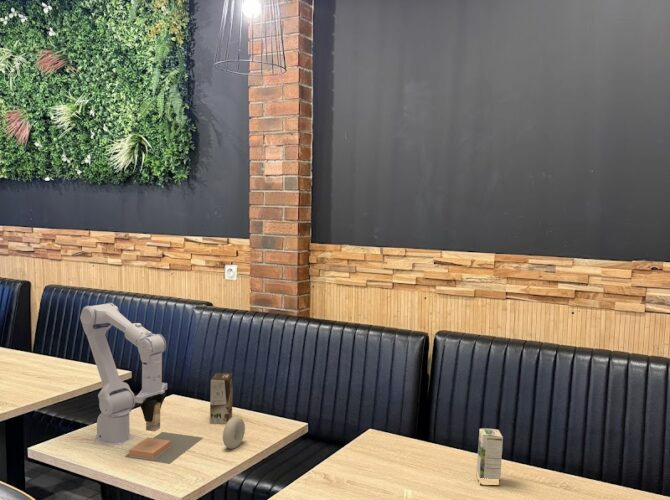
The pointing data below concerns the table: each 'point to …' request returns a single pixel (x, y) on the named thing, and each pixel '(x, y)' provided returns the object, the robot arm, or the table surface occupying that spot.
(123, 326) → the robot arm
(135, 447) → the tile
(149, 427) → the wooden block
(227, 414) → the coffee box
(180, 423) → the table surface
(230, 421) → the grey round disc
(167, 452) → the mat
